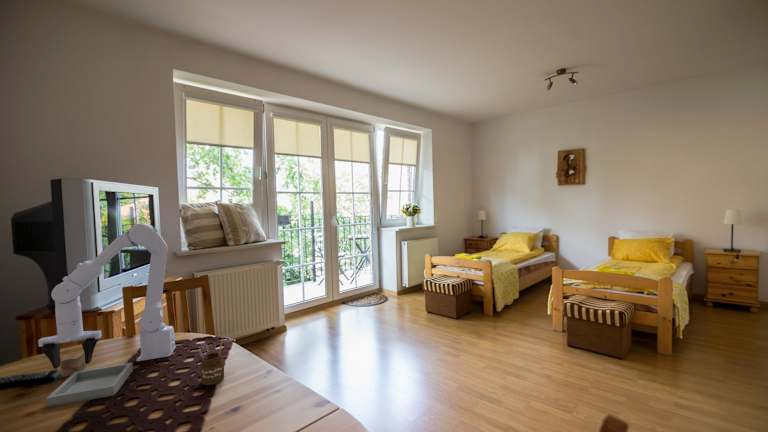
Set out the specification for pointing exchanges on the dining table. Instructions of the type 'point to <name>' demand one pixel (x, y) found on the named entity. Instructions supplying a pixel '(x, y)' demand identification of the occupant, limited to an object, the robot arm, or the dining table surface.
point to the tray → (90, 384)
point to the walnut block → (72, 364)
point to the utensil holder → (212, 367)
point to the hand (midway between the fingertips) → (73, 364)
